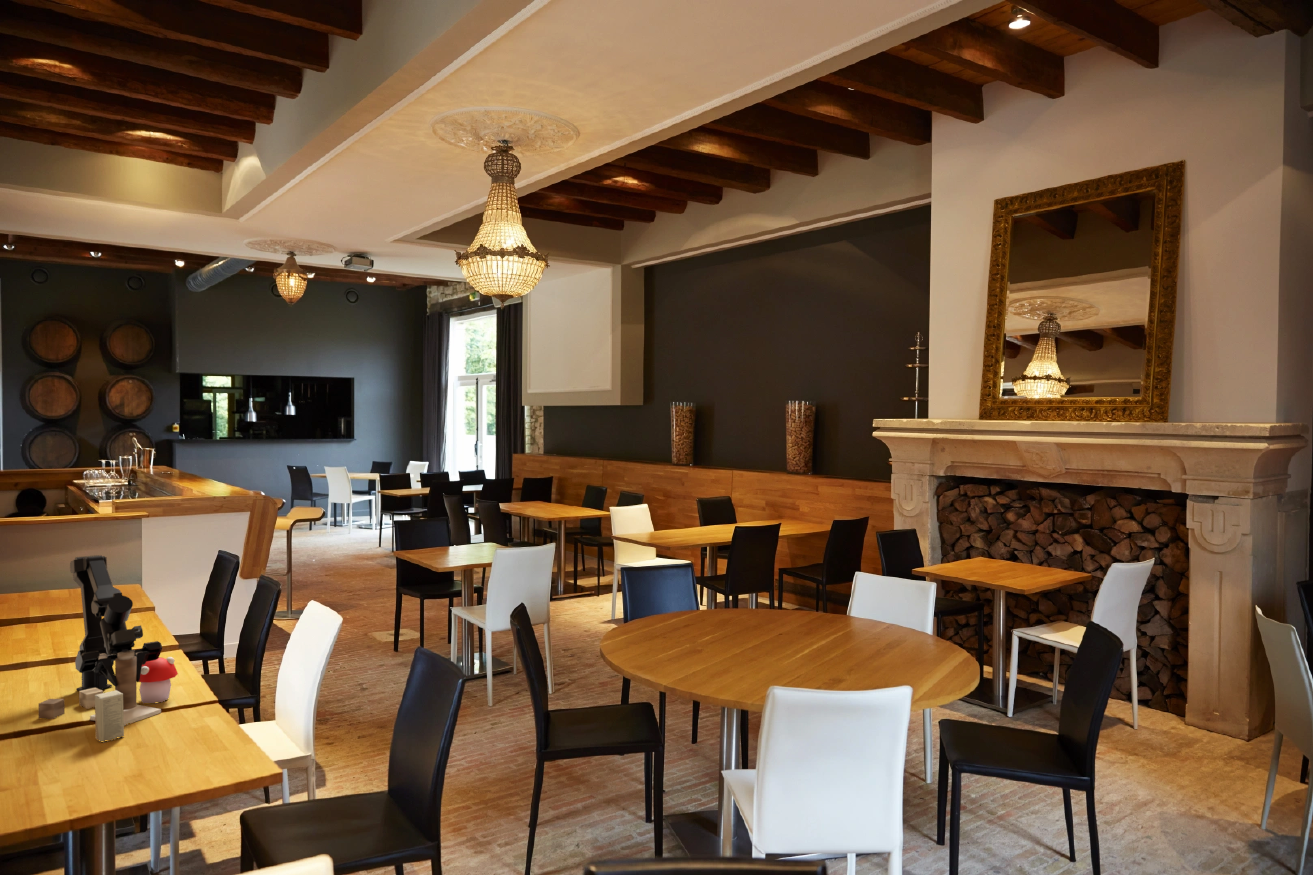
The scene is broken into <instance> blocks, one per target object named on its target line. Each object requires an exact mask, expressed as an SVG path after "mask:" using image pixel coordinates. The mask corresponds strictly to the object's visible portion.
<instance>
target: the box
mask: <svg viewBox="0 0 1313 875" xmlns="http://www.w3.org/2000/svg"><path fill="white" fill-rule="evenodd" d="M94 709H95V710H94V714H95V739H96V740H97V739H98V740H100V741H105V740H111V741H113V740H112V739H114V740H116V739H115V738H117V737H121V736H124V737H125V725H124V715H123V693H121V692H119V691H117V690H112V691H107V692H103V693H102V694H98V695H95V707H94ZM98 740H97V741H98ZM100 741H99V742H100Z"/></svg>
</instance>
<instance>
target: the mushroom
mask: <svg viewBox="0 0 1313 875" xmlns="http://www.w3.org/2000/svg"><path fill="white" fill-rule="evenodd" d="M178 674H179V672H178V671H177V669H176V666H175V658H174V657H172V656H167V657H166V658H164V657H160V656H159V658H158V659H156V660H153V661H147V662H146V663H145V664H144V665H142V668H141V674H140V680H139V682H138V683H140V686H139V689H138V690H139V695H140V700H141V703H142V702H143V703H142V704H144V703H155V702H161V703H163V701H164V702H166V701H165V700H167V699H168V698H169V697H170V693H171V690H172V688H171V687H172V683H171V679H173V678H176V677H177V676H178ZM169 699H170V698H169ZM169 699H168V700H169ZM168 700H167V701H168ZM155 704H156V703H155Z"/></svg>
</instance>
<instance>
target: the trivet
mask: <svg viewBox="0 0 1313 875" xmlns="http://www.w3.org/2000/svg"><path fill="white" fill-rule="evenodd" d="M161 713H162V709H161V708H156V707H151V706H145V705H139V704H136V707H134V708H132V709H127V710H123V715H124V726H127V725H129V724H128V723H130V724H132V723H135V722H138V721H141V720H144V719H147V718H150V717H153V716H157V715H159V714H161ZM89 720H90V721H95V713H94V714H92V715H90V716H89ZM126 724H127V725H126Z"/></svg>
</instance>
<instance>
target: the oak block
mask: <svg viewBox="0 0 1313 875" xmlns="http://www.w3.org/2000/svg"><path fill="white" fill-rule="evenodd" d="M78 691H79V690H78ZM102 693H104V691H103V689H102V690H100V689H98V688H91V689H87V690H82V691H79V693H78V694H79V695H78V697H79V698H78V699H79V700H78V702H79V704H78V705H79V706H80V707H82V706H83V708H84V709H92V707H93V708H95V695H98V694H102Z"/></svg>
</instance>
